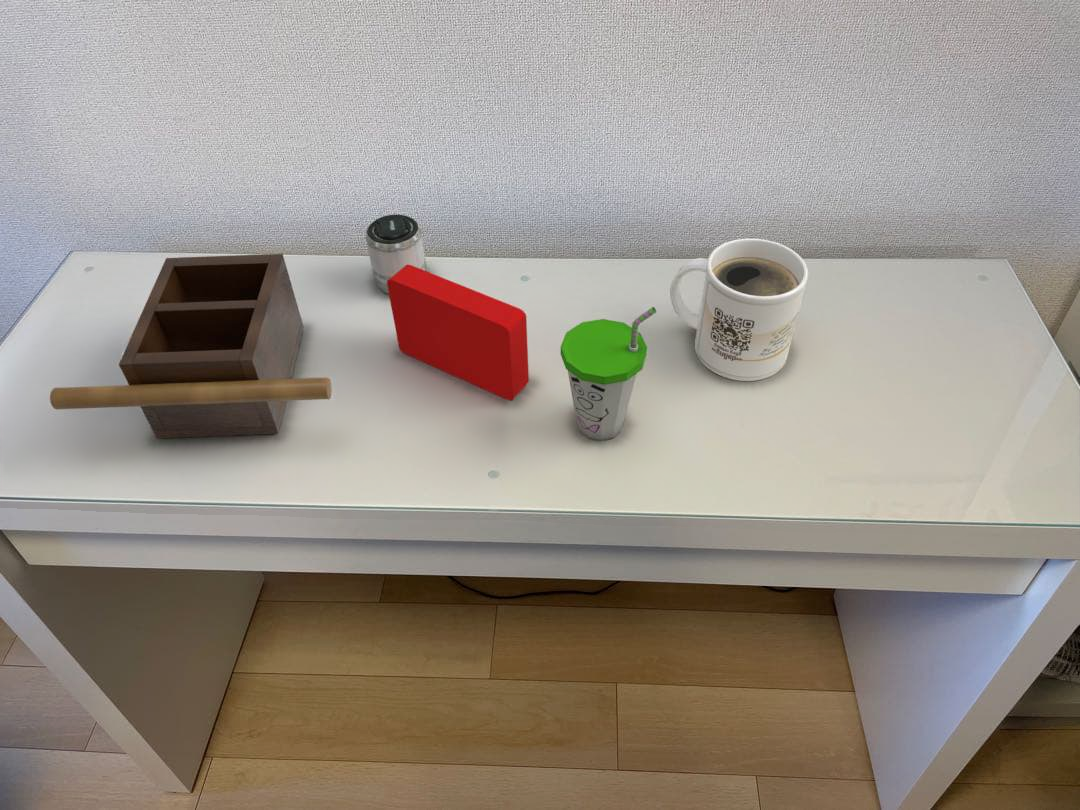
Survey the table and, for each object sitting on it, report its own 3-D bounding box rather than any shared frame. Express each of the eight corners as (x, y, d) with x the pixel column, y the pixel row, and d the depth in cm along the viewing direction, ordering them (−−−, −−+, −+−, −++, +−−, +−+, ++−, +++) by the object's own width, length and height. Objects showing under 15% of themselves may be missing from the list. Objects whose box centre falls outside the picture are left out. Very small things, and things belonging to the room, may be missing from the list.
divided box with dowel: (137, 333, 95) (102, 259, 88) (362, 324, 95) (345, 251, 88) (83, 456, 83) (37, 383, 75) (341, 446, 83) (320, 372, 76)
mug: (720, 395, 87) (736, 311, 79) (661, 325, 95) (670, 242, 87) (805, 364, 90) (829, 281, 82) (742, 299, 98) (757, 217, 90)
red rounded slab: (529, 385, 89) (526, 310, 81) (513, 402, 87) (509, 328, 80) (416, 335, 94) (404, 262, 87) (399, 351, 93) (386, 277, 85)
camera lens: (423, 261, 104) (415, 205, 98) (432, 292, 99) (424, 236, 94) (371, 269, 103) (360, 214, 97) (378, 301, 98) (367, 245, 93)
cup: (545, 432, 84) (543, 315, 73) (587, 385, 88) (591, 268, 78) (613, 466, 81) (621, 349, 70) (653, 415, 85) (667, 298, 74)
